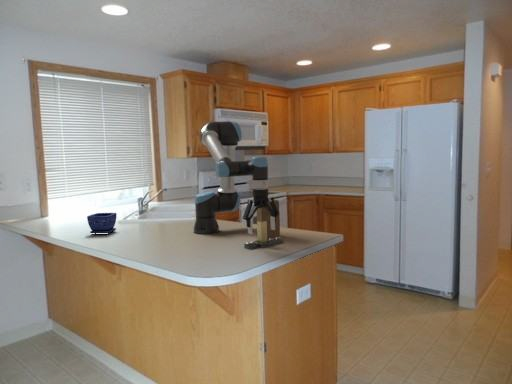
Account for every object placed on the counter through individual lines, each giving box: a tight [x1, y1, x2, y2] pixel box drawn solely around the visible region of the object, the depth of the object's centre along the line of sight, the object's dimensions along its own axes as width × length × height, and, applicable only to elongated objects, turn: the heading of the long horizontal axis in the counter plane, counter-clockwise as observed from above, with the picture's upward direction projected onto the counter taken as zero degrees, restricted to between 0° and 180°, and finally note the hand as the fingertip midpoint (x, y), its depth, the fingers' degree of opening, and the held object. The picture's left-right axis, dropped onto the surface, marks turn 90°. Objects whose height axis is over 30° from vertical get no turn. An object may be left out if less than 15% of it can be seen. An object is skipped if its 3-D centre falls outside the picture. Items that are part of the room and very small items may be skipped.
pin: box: [256, 220, 267, 243], centre depth 189 cm, size 3×3×12 cm
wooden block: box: [256, 199, 281, 239], centre depth 208 cm, size 10×10×20 cm
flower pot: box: [86, 212, 117, 234], centre depth 237 cm, size 13×13×12 cm
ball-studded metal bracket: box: [243, 236, 284, 250], centre depth 190 cm, size 8×21×3 cm, turn 125°
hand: (261, 231), depth 189 cm, fingers open, 13 cm apart
